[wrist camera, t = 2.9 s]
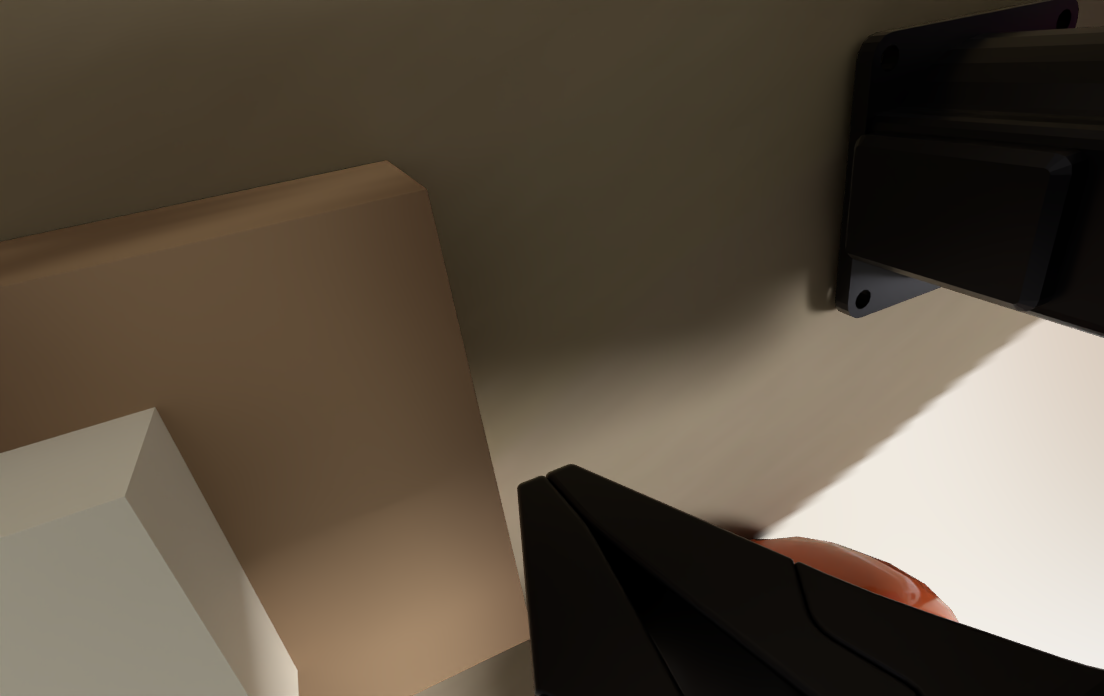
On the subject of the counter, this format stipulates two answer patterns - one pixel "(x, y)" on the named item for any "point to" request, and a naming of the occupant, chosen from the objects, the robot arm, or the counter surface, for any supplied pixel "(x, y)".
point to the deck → (290, 408)
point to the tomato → (860, 571)
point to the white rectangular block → (124, 575)
